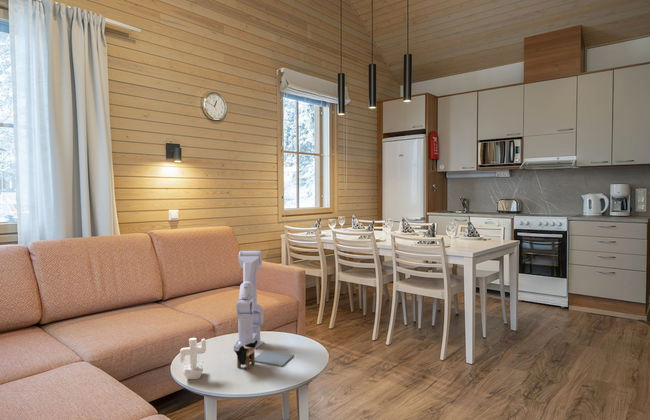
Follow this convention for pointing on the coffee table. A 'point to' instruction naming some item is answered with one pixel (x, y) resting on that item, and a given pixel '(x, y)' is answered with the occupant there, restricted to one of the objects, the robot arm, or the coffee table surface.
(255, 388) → the coffee table surface
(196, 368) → the figurine
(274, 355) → the slate mat
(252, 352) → the stool
